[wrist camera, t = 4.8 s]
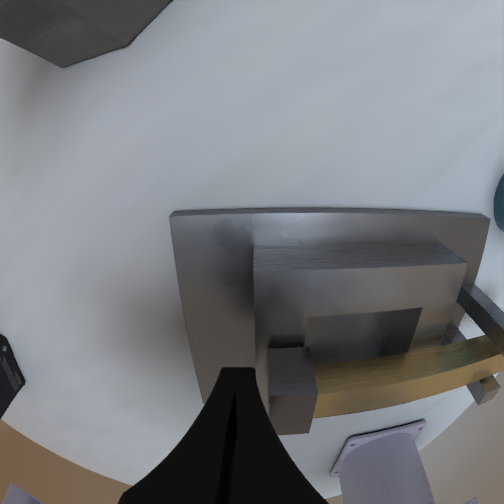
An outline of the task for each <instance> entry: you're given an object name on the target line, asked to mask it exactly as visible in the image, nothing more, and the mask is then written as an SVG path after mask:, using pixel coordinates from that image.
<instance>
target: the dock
mask: <svg viewBox="0 0 504 504" xmlns="http://www.w3.org/2000/svg"><path fill="white" fill-rule="evenodd" d="M169 219H170V227H171V235H172V243H173V250H174V257H175V264H176V270H177V277H178V283H179V289H180V295H181V301H182V306H183V312H184V317H185V323H186V328H187V333H188V338H189V343H190V348H191V352H192V357H193V361H194V366H195V370H196V375H197V379H198V383H199V387H200V391H201V396H202V400H203V403H204V404H205V403H206V401H207V399H208V398H209V396H210V394H211V392H212V390H213V388H214V385H215V383H216V381H217V378H218V376H219V373H220V370H221V368H223V367H253V368H254V369H255V374H256V380H257V385H258V389H259V392H260V396H261V399H262V402H263V404H264V407H265V410H266V412H267V415H268V395H267V387H268V349H269V348H296V347H309V350H310V355H311V360H312V364H319V363H331V362H342V361H351V360H360V359H368V358H375V357H382V356H389V355H395V354H402V353H407V352H413V351H418V350H424V349H429V348H434V347H438V346H443V345H447V344H452V343H456V342H460V341H464V340H467V339H466V338H465V337H464V335H463V334H462V333H461V332H460V330H459V329H458V327H459V325H460V322H461V320H462V317H463V315H464V312H465V311H466V313H467V314H468V315H469V316H470V317H471V318H472V319H473V320H474V322H475V323H476V324H477V325H478V326H479V327H480V329H481V330H482V331H483V332H484V333H485V334H486V336H487V337H488V338H489V339H490V340H491V342H492V343H493V344H494V345H495V347H496V348H497V349H498V350H499V352H500V353H501V354H502V355H503V357H504V312H503V311H502V310H501V309H500V308H499V307H498V306H497V305H496V304H495V303H494V302H493V301H492V300H491V299H490V298H489V297H488V296H487V295H486V294H485V293H484V292H482V291H481V290H480V289H479V288H478V287H477V286H476V285H475V284H474V283H475V280H476V276H477V273H478V270H479V266H480V263H481V259H482V255H483V251H484V247H485V243H486V238H487V234H488V229H489V224H490V218H488V217H486V216H484V215H482V214H471V213H457V212H441V211H422V210H400V209H368V208H248V209H215V210H190V211H174V212H173V213H172V214H171V215H170V216H169ZM466 386H467V387H468V389H469V391H470V392H471V394H472V396H473V397H474V399H475V401H476V403H477V404H478V405H480V404H482V403H485V402H487V401H489V400H491V399H492V398H493V397H494V395H495V394H496V393H497V391H498V389H499V388H500V385H499V384H498V382H497V381H496V379H495V378H494V376H493V375H491V376H488V377H486V378H483V379H481V380H478V381H475V382H473V383H470V384H467V385H466ZM410 402H411V401H410ZM406 403H408V402H406ZM402 404H404V403H402ZM397 405H399V404H397ZM393 406H395V405H393ZM388 407H390V406H388ZM383 408H385V407H383ZM378 409H380V408H378ZM373 410H375V409H373ZM367 411H370V410H367ZM361 412H364V411H361ZM355 413H358V412H355ZM348 414H352V413H348ZM341 415H345V414H341ZM334 416H337V415H334ZM325 417H329V416H325ZM315 418H320V417H315Z"/></svg>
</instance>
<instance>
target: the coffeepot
mask: <svg viewBox="0 0 504 504" xmlns="http://www.w3.org/2000/svg"><path fill="white" fill-rule="evenodd" d="M169 2H170V0H0V38H2V39H4V40H7V41H9V42H11V43H13V44H15V45H17V46H19V47H21V48H23V49H26V50H28V51H30V52H32V53H34V54H36V55H38V56H40V57H42V58H44V59H45V60H47V61H49V62H51V63H53V64H55V65H57V66H59V67H61V68H63V67H66V66H68V65H71V64H74V63H77V62H80V61H83V60H87V59H91V58H95V57H97V56H100V55H102V54H104V53H107V52H109V51H111V50H113V49H117V48H120V47H124V46H126V45H127V44H128V43H129V42H130V41H131V40H132V39H133V38H134V37H135V36H136V35H137V34H139V33H140V32H141V31H142V30H143V29H144V28H145V27H146V26H147V25H148V24H149V23H151V22H152V21H153V20H154V19H155V18H156V17H157V16H158V15H159V14H160V12H161V11H162V10H163V9H164V8H165V7H166V6H167V5H168V3H169Z"/></svg>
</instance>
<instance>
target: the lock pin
mask: <svg viewBox="0 0 504 504" xmlns="http://www.w3.org/2000/svg"><path fill="white" fill-rule="evenodd" d="M503 370H504V357H503V355H502V354H501V353H500V352H499V350H498V349H497V348H496V347H495V345H494V344H493V343H492V342H491V340H490V339H489V338H488V337H487V336H486V335H483V336H480V337H476V338H472V339H468V340H464V341H460V342H456V343H452V344H447V345H443V346H438V347H434V348H429V349H424V350H418V351H413V352H407V353H402V354H395V355H389V356H382V357H375V358H368V359H360V360H351V361H342V362H331V363H319V364H312V360H311V355H310V350H309V347H296V348H269V349H268V387H267V395H268V417H269V419H270V421H271V424H272V426H273V428H274V430H275V432H276V434H277V435H290V434H304V433H309V430H310V426H311V422H312V418H315V417H325V416H334V415H341V414H348V413H355V412H361V411H367V410H373V409H378V408H383V407H388V406H393V405H397V404H402V403H406V402H410V401H414V400H418V399H422V398H426V397H429V396H433V395H436V394H440V393H443V392H446V391H449V390H452V389H456V388H458V387H461V386H464V385H467V384H470V383H473V382H475V381H478V380H481V379H483V378H486V377H488V376H491V375H493V374H496V373H498V372H500V371H503Z"/></svg>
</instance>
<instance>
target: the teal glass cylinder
mask: <svg viewBox="0 0 504 504" xmlns="http://www.w3.org/2000/svg"><path fill="white" fill-rule="evenodd" d="M494 216H495V220H496V223H497V225H498V227H499V228H500V229H501V230H502V231H504V175H503V176H502V178H501V179H500V181H499V183H498V186H497V189H496V193H495V198H494Z"/></svg>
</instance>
